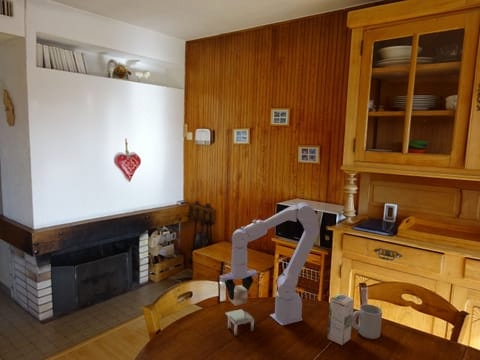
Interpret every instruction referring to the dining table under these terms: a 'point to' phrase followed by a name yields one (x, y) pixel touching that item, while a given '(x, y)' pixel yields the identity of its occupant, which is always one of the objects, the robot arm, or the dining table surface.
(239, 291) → the birch block
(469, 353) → the dining table surface
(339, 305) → the syrup box
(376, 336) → the cup
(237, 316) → the end pad
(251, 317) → the small white stool
